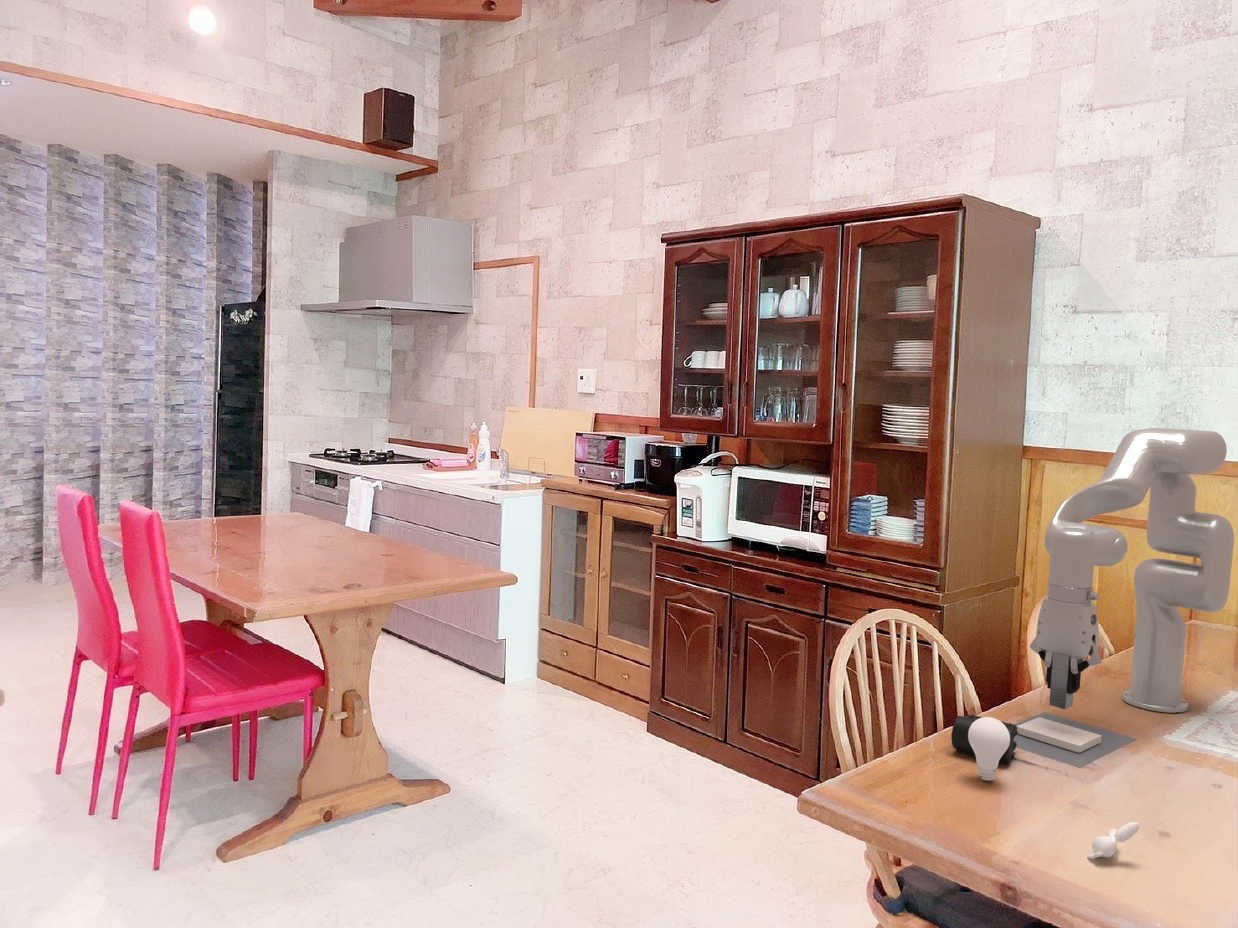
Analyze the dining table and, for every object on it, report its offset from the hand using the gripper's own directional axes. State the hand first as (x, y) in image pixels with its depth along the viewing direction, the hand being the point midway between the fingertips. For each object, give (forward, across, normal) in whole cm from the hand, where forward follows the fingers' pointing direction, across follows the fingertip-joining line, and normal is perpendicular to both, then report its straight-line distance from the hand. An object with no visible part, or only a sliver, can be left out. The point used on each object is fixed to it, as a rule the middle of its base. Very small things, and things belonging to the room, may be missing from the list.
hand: (1062, 689), depth 179 cm
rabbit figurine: (+11, -26, +38) cm, 47 cm away
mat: (+11, 0, -1) cm, 11 cm away
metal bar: (+3, 0, 0) cm, 3 cm away
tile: (+9, 0, -4) cm, 10 cm away
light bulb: (+11, -1, +28) cm, 30 cm away
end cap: (+11, +5, +18) cm, 22 cm away
